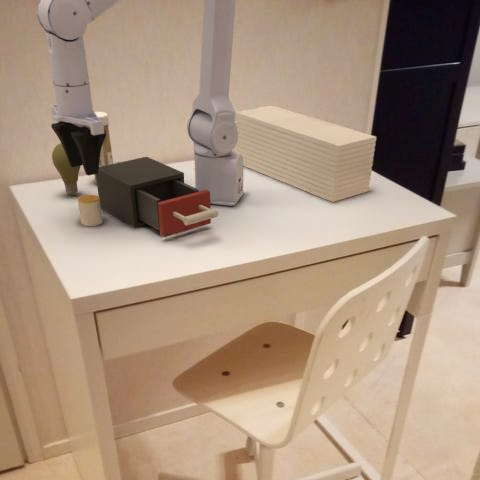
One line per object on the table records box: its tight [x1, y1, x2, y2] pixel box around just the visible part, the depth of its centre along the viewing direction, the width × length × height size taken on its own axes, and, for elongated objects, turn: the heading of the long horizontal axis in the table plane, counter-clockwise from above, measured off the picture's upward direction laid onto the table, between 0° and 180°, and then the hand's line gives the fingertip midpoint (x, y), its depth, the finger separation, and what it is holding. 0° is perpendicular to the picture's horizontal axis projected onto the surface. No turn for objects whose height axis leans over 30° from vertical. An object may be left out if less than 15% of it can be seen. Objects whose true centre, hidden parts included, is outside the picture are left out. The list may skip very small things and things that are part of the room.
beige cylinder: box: [77, 194, 104, 227], centre depth 112 cm, size 4×4×4 cm
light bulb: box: [51, 142, 82, 197], centre depth 121 cm, size 6×6×10 cm
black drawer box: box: [96, 156, 185, 229], centre depth 115 cm, size 13×12×8 cm
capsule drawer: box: [134, 179, 219, 238], centre depth 109 cm, size 16×10×6 cm, turn 40°
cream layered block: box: [234, 105, 377, 203], centre depth 131 cm, size 32×11×11 cm, turn 38°
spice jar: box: [93, 111, 114, 185], centre depth 126 cm, size 5×5×14 cm
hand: (84, 169), depth 107 cm, fingers open, 5 cm apart
